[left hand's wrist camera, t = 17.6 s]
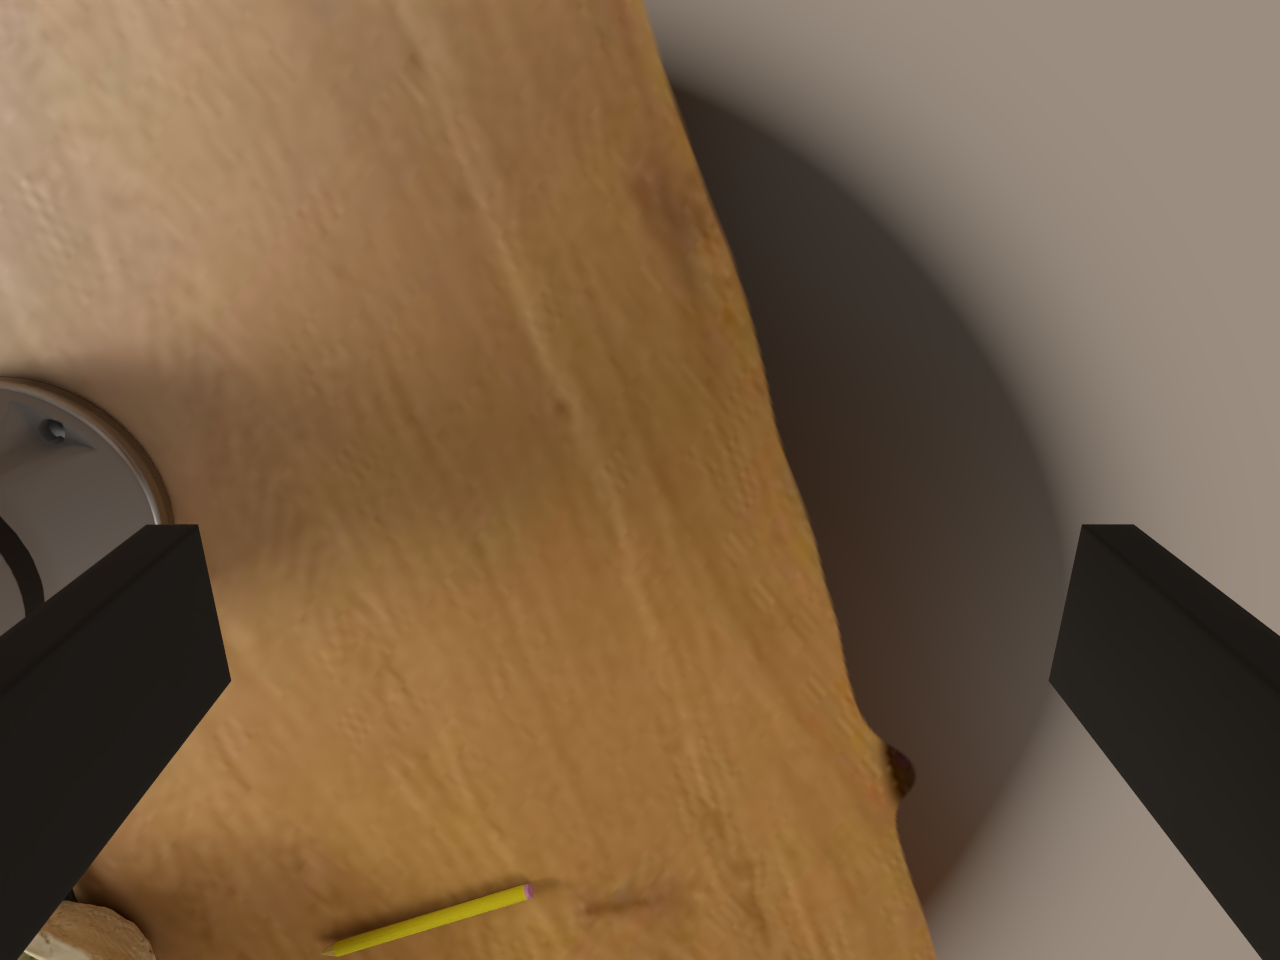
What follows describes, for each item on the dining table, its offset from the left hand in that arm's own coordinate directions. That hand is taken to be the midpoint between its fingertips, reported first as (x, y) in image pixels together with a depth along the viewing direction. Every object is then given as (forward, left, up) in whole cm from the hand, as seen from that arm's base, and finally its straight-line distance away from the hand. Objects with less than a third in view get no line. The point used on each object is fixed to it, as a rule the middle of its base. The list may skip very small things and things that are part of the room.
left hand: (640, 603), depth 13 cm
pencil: (-41, +22, -33) cm, 57 cm away
